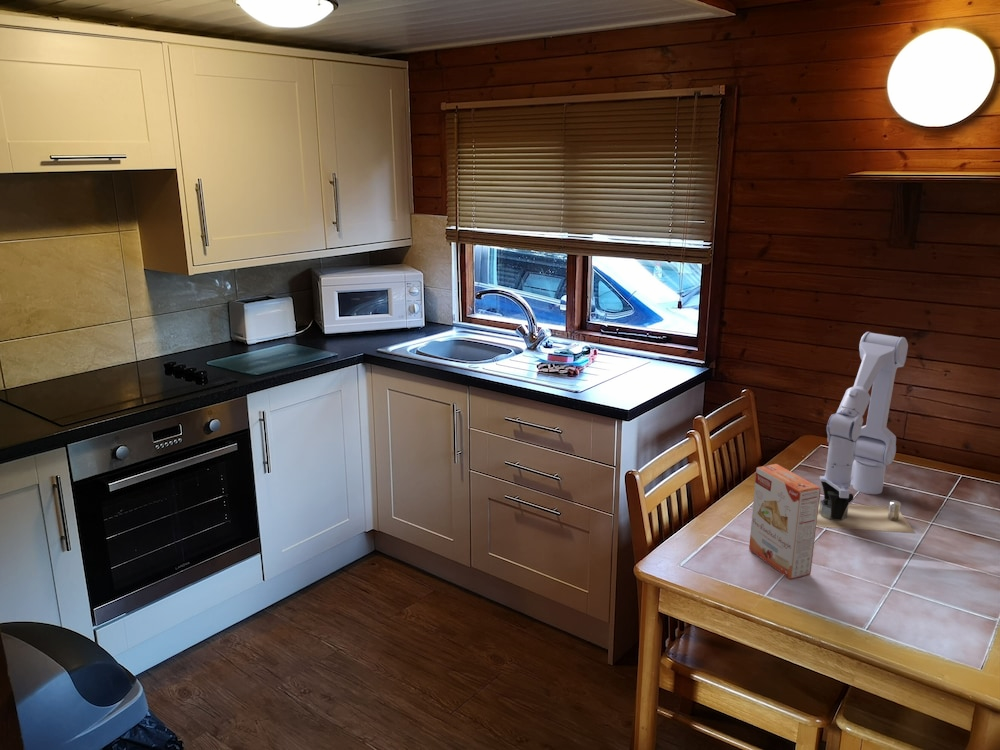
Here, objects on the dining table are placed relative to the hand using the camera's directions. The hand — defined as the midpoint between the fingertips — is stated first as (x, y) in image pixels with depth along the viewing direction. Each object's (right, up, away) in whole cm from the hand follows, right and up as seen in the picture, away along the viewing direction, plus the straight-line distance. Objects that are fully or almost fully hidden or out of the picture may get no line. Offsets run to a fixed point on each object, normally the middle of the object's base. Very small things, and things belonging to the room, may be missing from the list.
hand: (833, 512), depth 192 cm
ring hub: (0, -1, 0) cm, 1 cm away
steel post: (+14, -1, -2) cm, 14 cm away
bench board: (+6, -2, 0) cm, 6 cm away
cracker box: (-21, -8, -20) cm, 29 cm away
